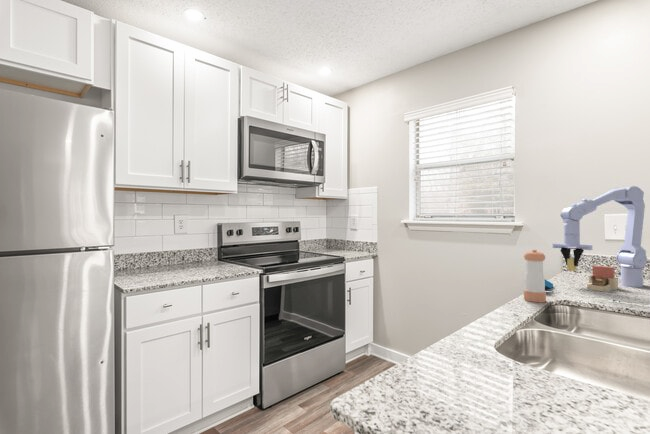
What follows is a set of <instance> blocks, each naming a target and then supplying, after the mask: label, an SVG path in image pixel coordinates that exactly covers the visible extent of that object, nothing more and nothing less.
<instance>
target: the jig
mask: <svg viewBox="0 0 650 434" xmlns="http://www.w3.org/2000/svg"><path fill="white" fill-rule="evenodd" d="M591 276H593V274H591V275H589V276H588V283H587V284H586V285H587V287H585V288H583V290H589V291H598V292H605V293H611V292H613V291H617V290H618V289H620V287H619V277H615V279H613V278H608V282H609V285H606V286H597V285H592V280H591ZM595 279H596V278H595Z"/></svg>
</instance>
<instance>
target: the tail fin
mask: <svg viewBox="0 0 650 434" xmlns="http://www.w3.org/2000/svg"><path fill="white" fill-rule="evenodd" d="M566 266H567V267H566V269H567V271H570V272H571V271H572V272H574V271H577V270H578V269H577V267H578V266H574V257H573V258H572V257H570V258H569V259H567V265H566Z"/></svg>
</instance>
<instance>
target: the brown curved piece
mask: <svg viewBox="0 0 650 434" xmlns="http://www.w3.org/2000/svg"><path fill="white" fill-rule="evenodd" d="M592 275H593V274H592ZM592 275H590V276H591V280H592V285H597V286H606V285H609V282H608V279H606V276H604V277H602V279H601V278H596V279H595V275H593V276H592Z"/></svg>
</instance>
